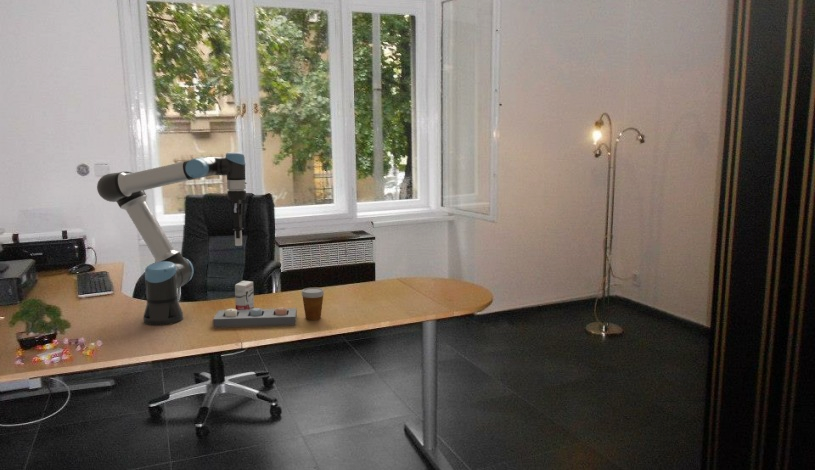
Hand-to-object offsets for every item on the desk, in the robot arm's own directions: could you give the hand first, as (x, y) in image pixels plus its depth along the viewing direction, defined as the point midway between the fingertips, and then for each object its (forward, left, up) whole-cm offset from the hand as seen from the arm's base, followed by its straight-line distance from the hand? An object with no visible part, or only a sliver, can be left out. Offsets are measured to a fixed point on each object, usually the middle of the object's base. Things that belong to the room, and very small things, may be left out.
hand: (238, 245), depth 250 cm
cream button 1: (-2, -14, -29) cm, 32 cm away
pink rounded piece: (+18, -14, -29) cm, 37 cm away
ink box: (+1, +5, -30) cm, 30 cm away
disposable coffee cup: (+31, -11, -30) cm, 44 cm away
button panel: (+8, -14, -29) cm, 33 cm away
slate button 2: (+8, -14, -29) cm, 33 cm away
